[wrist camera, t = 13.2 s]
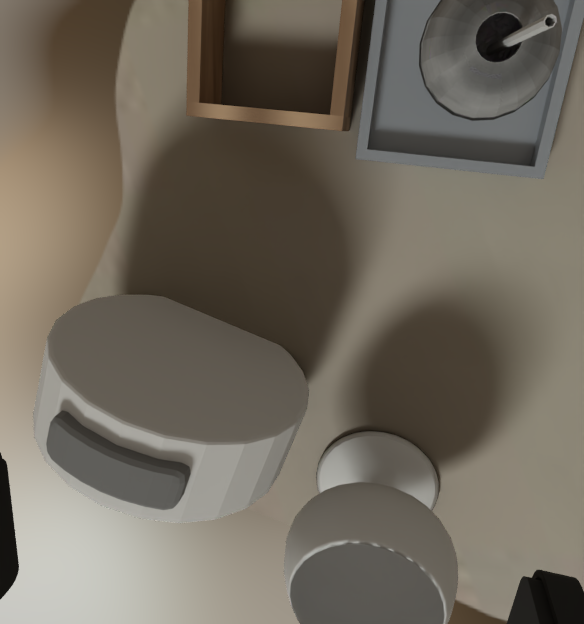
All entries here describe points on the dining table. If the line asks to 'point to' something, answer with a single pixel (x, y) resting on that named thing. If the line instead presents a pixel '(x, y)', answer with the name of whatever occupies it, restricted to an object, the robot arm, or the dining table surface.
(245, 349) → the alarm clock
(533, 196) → the dining table surface
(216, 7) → the holder
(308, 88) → the dining table surface
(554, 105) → the tray
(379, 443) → the chalice
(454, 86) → the beverage cup
